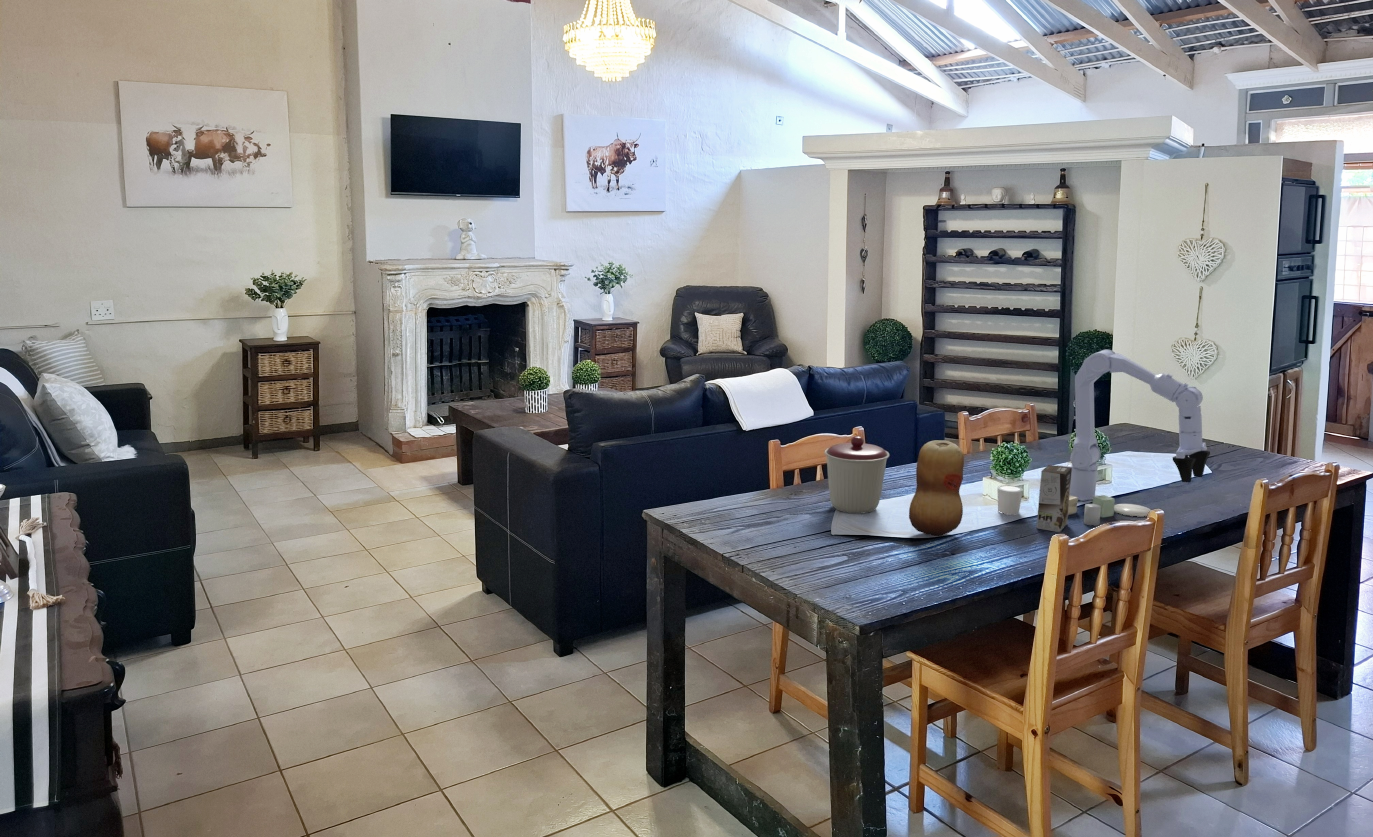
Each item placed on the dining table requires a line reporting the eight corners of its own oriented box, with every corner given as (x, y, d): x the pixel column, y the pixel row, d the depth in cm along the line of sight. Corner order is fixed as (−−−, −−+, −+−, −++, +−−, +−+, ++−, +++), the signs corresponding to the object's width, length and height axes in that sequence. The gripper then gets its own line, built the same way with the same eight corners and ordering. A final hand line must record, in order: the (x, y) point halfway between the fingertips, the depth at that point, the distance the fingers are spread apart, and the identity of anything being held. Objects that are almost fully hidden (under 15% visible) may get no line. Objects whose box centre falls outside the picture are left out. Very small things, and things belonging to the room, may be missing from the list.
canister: (898, 508, 290) (902, 436, 285) (863, 522, 277) (866, 447, 272) (845, 496, 302) (848, 426, 297) (809, 508, 289) (812, 436, 284)
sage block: (1091, 513, 287) (1093, 496, 286) (1102, 512, 288) (1103, 495, 287) (1102, 517, 283) (1104, 500, 282) (1113, 516, 285) (1114, 498, 284)
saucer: (1104, 508, 291) (1105, 506, 291) (1131, 504, 295) (1131, 502, 295) (1132, 518, 282) (1132, 515, 282) (1159, 514, 286) (1159, 511, 286)
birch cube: (1053, 511, 288) (1054, 496, 287) (1062, 509, 291) (1063, 493, 290) (1067, 515, 285) (1068, 500, 284) (1076, 512, 287) (1077, 497, 287)
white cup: (1008, 516, 283) (1010, 492, 281) (990, 510, 289) (992, 486, 287) (1026, 513, 286) (1028, 489, 285) (1008, 507, 292) (1010, 483, 290)
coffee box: (1060, 532, 269) (1065, 474, 266) (1035, 528, 273) (1040, 470, 269) (1068, 524, 277) (1073, 466, 273) (1043, 520, 280) (1048, 463, 277)
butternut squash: (928, 545, 258) (934, 450, 253) (898, 530, 270) (902, 438, 265) (972, 539, 264) (979, 445, 258) (940, 524, 276) (946, 434, 270)
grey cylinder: (1080, 522, 279) (1081, 504, 278) (1091, 520, 280) (1093, 503, 279) (1091, 526, 275) (1092, 508, 274) (1102, 524, 277) (1104, 507, 276)
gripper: (1193, 436, 274) (1195, 485, 276) (1216, 427, 283) (1218, 475, 285) (1167, 435, 279) (1169, 483, 281) (1190, 426, 289) (1192, 473, 290)
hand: (1192, 479), depth 283 cm, fingers open, 7 cm apart
